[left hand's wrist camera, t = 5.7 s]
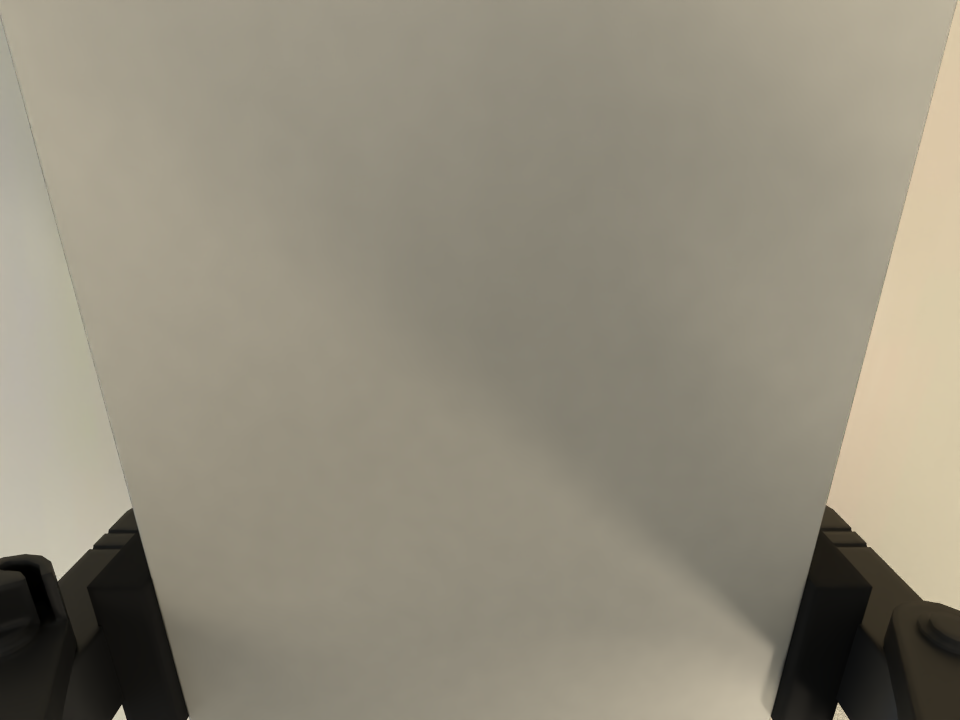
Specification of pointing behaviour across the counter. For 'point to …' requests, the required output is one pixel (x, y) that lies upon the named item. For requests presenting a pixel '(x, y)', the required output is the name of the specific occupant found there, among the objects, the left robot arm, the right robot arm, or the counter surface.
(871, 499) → the counter surface
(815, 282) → the wide beam
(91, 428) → the counter surface
